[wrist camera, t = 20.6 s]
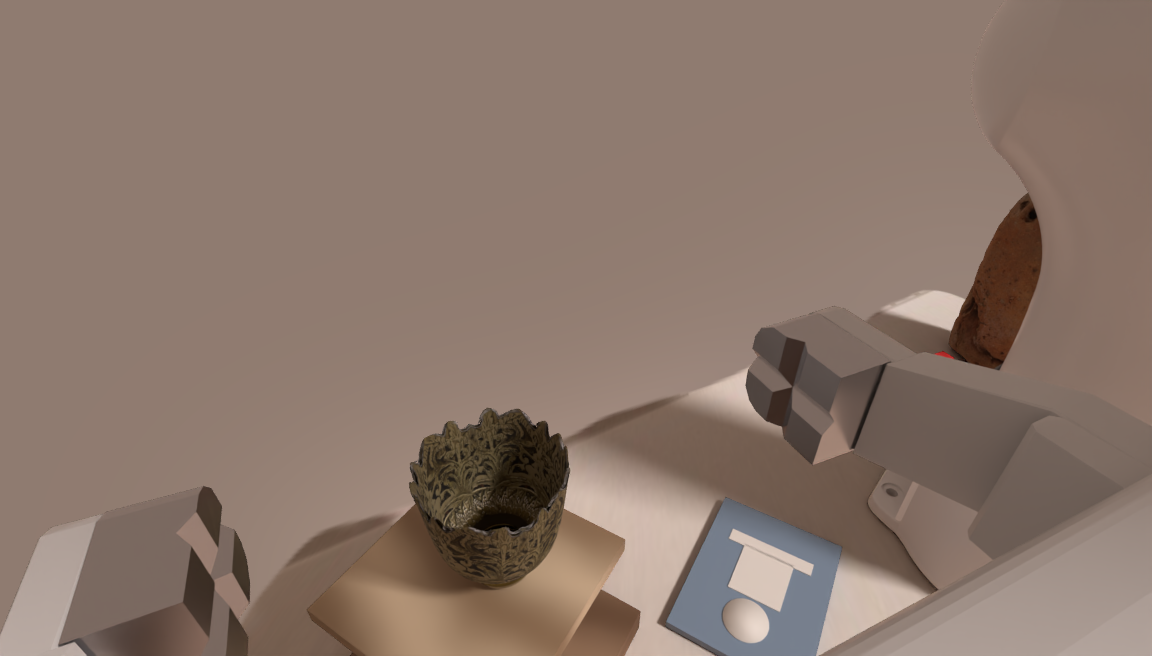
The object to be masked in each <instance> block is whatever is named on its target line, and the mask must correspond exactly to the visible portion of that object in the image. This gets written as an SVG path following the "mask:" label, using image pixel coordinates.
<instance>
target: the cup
mask: <svg viewBox="0 0 1152 656" xmlns="http://www.w3.org/2000/svg"><path fill="white" fill-rule="evenodd" d="M481 416H482V419H481ZM479 419H480V420H479V422H480V421H481V422H480V424H478V425H471V424H468V425H467V427H466V428H464V429H459V428H458V425H457V424H456V423H457V422H456V421H448V422H447V423H446V424H445V426H444V428H443V431H442V434H433V435H430V436H428V437H426V438H424V440H423V441H422V444H421V448H420V452H419V460H418V463H416V462H417V461H415V462H412V463H410V470H411V473H412V477H413V480H414V481H413V482H412V483H411V482H410V483H409V488H410V492H411V495H412V497H413V498H414V501H415V503H416V505H417V507H418V509H419V512H420V514H421V517H422V519H423V521H424V524H425V526H426V528H427V530H428V533H429V535H430V537H431V539H432V541H433V543H434V545H435V547H436V549H437V551H438V552H439V554H440V555H441V557H442V558H443V560H444V561H445V562H446V563H447V564H448V566H449V567H450V568H451V569H453V570H454V571H455V572H456V573H458V574H459V575H461V576H463V577H464V578H466V579H469V580H471V581H474V582H477V583H481V584H483V585H484V586H487V587H489V588H494V589H503V588H508V587H511V586H514V585H516V584H517V583H519V582H520V581H521V580H523V579H524V578H525V577H526V575H527V574H528V573H530V572H531V571H533V570H534V569H535V568H536V567H537V566H539V565H540V564H541V562H542V561H543V560H544V559H545V558H546V556H547V555H548V553H549V552H550V550H551V549H552V547H553V545H554V542H555V540H556V537H557V535H558V531H559V528H560V524H561V519H562V515H563V509H564V503H565V496H566V490H567V483H568V478H569V473H570V468H568V467H569V462H568V450H567V447H566V446H564V444H563V441H562V437H561V435H560V434H559V433H557V434H555V435H553V436H551V437H550V436H549V432H548V424H547V422H546V421H542V422H538V423H537V427H536V426H535V425H534V424H533V423H532V422H531V420H530V419H529V417H528V416H527V415H526V414H525V413H524V412H523V411H521V410H520V409H514V410H510V411H508V412H506V413H504V414H502V415H498V413H497V411H495V410H494V409H491V408H487V409H485V410H484V411H483V412H482V414H481V415H480V418H479ZM479 422H478V423H479Z"/></svg>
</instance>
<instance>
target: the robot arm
mask: <svg viewBox="0 0 1152 656" xmlns="http://www.w3.org/2000/svg"><path fill="white" fill-rule="evenodd" d="M971 94H972V104H973V109H974V113H975V117H976V119H977V122H978V125H979V127H980V129H981V131H982V133H983V134H984V136H985V138H986V139H987V141H988V142H989V144H990V145H991V146H992V147H993V148H994V149H995V150H996V151H997V152H998V153H999V154H1000V155H1001V156H1002V157H1003V158H1004V159H1005V160H1006V161H1007V163H1008V164H1009V165H1010V166H1011V167H1012V169H1013V170H1014V171H1015V172H1016V174H1017V175H1018V176H1019V178H1020V179H1021V181H1022V183H1023V184H1024V186H1025V188H1026V190H1027V191H1028V194H1029V196H1030V198H1031V200H1032V202H1033V205H1034V208H1035V211H1036V213H1037V217H1038V221H1039V225H1040V231H1041V238H1042V264H1041V271H1040V275H1039V280H1038V283H1037V286H1036V289H1035V292H1034V294H1033V297H1032V300H1031V302H1030V305H1029V308H1028V310H1027V313H1026V315H1025V318H1024V320H1023V322H1022V325H1021V327H1020V330H1019V332H1018V334H1017V336H1016V338H1015V340H1014V343H1013V345H1012V347H1011V349H1010V351H1009V353H1008V355H1007V357H1006V359H1005V361H1004V363H1003V364H1001V365H999V366H997V367H996V368H995V369H991V368H987V367H983V366H979V365H975V364H971V363H967V362H963V361H959V360H955V359H951V358H947V357H943V356H939V355H935V354H931V353H927V352H921V353H918V354H917V353H915V352H914V351H912V350H910V349H909V348H907V347H906V346H904V345H902V344H901V343H899V342H897V341H896V340H894V339H893V338H891V337H889V336H888V335H886V334H885V333H883V332H881V331H880V330H878V329H877V328H875V327H873V326H872V325H870V324H869V323H867V322H865V321H864V320H862V319H860V318H859V317H857V316H856V315H854V314H852V313H851V312H849V311H847V310H846V309H844V308H839V307H835V306H832V307H829V308H826V309H822V310H819V311H816V312H813V313H810V314H808V315H804V316H800V317H798V318H794V319H790V320H787V321H783V322H780V323H777V324H773V325H770V326H766V327H763V328H761V329H760V331H759V332H758V333H757V335H756V336H755V340H754V344H753V350H754V352H755V354H756V355H757V358H756V360H755V361H754V362H753V364H752V365H751V366H750V368H749V369H748V373H747V379H746V389H747V393H748V397H749V401H750V402H751V404H752V406H753V407H754V409H755V410H756V412H757V413H758V414H759V415H760V416H761V417H762V418H763V419H764V420H765V421H767V422H770V423H773V424H775V425H778V426H781V427H782V429H783V436H784V439H785V440H786V441H787V442H788V443H789V444H790V445H791V446H793V447H794V448H795V449H796V450H797V451H798V452H799V453H800V454H801V455H802V456H803V457H804V458H805V459H806V460H807V461H808V462H809V463H810V464H812V465H815V464H818V463H820V462H823V461H826V460H829V459H831V458H834V457H837V456H840V455H842V454H845V453H848V452H851V451H853V450H854V452H853V454H856V455H858V456H860V457H862V458H864V459H866V460H868V461H870V462H873V463H875V464H877V465H879V466H881V467H883V468H885V469H886V470H885V472H884V473H883V475H882V477H881V478H880V480H879V482H878V483H877V485H876V487H875V489H874V490H873V492H872V494H871V495H870V497H869V499H868V505H869V507H870V509H871V510H872V512H873V513H874V514H875V515H876V516H877V517H878V518H879V519H880V520H881V521H882V522H883V523H884V524H885V525H887V526H888V527H889V528H890V529H891V530H892V531H893V532H895V533H896V535H897V536H898V537H899V539H900V540H901V541H902V543H903V545H904V546H905V548H906V550H907V551H908V553H909V555H910V556H911V558H912V559H913V561H914V562H915V564H916V565H917V566H918V568H919V569H920V570H921V572H922V573H923V574H924V575H925V576H926V578H927V579H928V580H929V581H930V582H931V583H932V584H933V585H934V586H935V587H936V588H937V589H938V591H936V592H934V593H932V594H930V595H929V596H927V597H925V598H923V599H921V600H919V601H918V602H916V603H914V604H912V605H910V606H908V607H907V608H905V609H903V610H901V611H899V612H898V613H896V614H894V615H892V616H890V617H888V618H887V619H885V620H883V621H881V622H879V623H877V624H876V625H874V626H872V627H870V628H868V629H866V630H865V631H863V632H861V633H859V634H857V635H856V636H854V637H852V638H850V639H848V640H846V641H845V642H843V643H841V644H839V645H837V646H835V647H834V648H832V649H830V650H828V651H826V652H824V653H823V654H821V655H819V656H1152V0H1005V1H1004V2H1003V3H1002V4H1001V6H1000V7H999V9H998V10H997V12H996V14H995V15H994V16H993V18H992V20H991V21H990V23H989V25H988V27H987V29H986V31H985V33H984V35H983V37H982V40H981V42H980V45H979V48H978V51H977V54H976V57H975V60H974V66H973V71H972V81H971ZM888 494H889V495H888ZM890 495H891V496H890ZM221 511H222V506H221V504H220V502H219V500H218V499H217V497H216V495H215V494H214V492H213V490H212V489H211V488H209V487H205V486H203V487H199V488H195V489H191V490H188V491H184V492H180V493H176V494H172V495H168V496H165V497H161V498H157V499H153V500H150V501H146V502H142V503H138V504H134V505H130V506H127V507H123V508H120V509H115V510H111V511H108V512H105V513H104V514H100V515H96V516H92V517H88V518H85V519H81V520H77V521H73V522H70V523H65V524H61V525H58V526H54V527H51V528H50V529H49V530H48V531H47V532H46V533H44V534H43V535H42V536H41V537H40V538H39V540H38V542H37V544H36V547H35V549H34V552H33V554H32V556H31V559H30V561H29V564H28V566H27V569H26V571H25V574H24V576H23V579H22V581H21V583H20V586H19V588H18V591H17V593H16V596H15V598H14V601H13V603H12V606H11V608H10V610H9V613H8V615H7V618H6V620H5V623H4V625H3V628H2V630H1V633H0V656H247V652H248V636H247V634H246V633H245V631H244V629H243V628H242V626H241V624H240V623H239V621H238V619H239V618H240V616H241V615H242V613H243V612H244V610H245V609H246V607H247V606H248V604H249V602H250V579H249V573H248V565H247V559H246V556H245V552H244V550H243V547H242V543H241V541H240V539H239V537H238V535H237V533H236V531H235V530H234V529H231V528H229V527H226V526H223V525H221V524H220V522H221Z"/></svg>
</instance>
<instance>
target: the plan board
mask: <svg viewBox="0 0 1152 656" xmlns="http://www.w3.org/2000/svg"><path fill="white" fill-rule="evenodd" d="M841 551H842V547H841V546H839V545H837V544H834V543H832V542H830V541H827V540H825V539H823V538H820V537H818V536H816V535H813V534H811V533H809V532H806V531H804V530H802V529H799V528H797V527H795V526H792V525H790V524H788V523H785V522H783V521H781V520H778V519H776V518H774V517H771V516H769V515H767V514H764V513H762V512H760V511H757V510H755V509H753V508H750V507H748V506H746V505H743V504H741V503H739V502H736V501H734V500H732V499H729V498H727V497H725V499H724V501H723V504H722V506H721V508H720V510H719V512H718V514H717V516H716V518H715V520H714V522H713V525H712V527H711V529H710V531H709V533H708V535H707V537H706V539H705V541H704V543H703V545H702V548H701V550H700V552H699V554H698V556H697V558H696V560H695V562H694V564H693V566H692V569H691V571H690V573H689V575H688V577H687V579H686V581H685V583H684V585H683V587H682V589H681V592H680V594H679V596H678V598H677V600H676V602H675V604H674V606H673V608H672V610H671V613H670V615H669V617H668V619H667V621H666V627H667V628H669V629H671V630H673V631H675V632H676V633H678V634H680V635H682V636H684V637H685V638H687V639H689V640H691V641H693V642H694V643H696V644H698V645H700V646H702V647H703V648H705V649H707V650H709V651H711V652H712V653H714V654H716V655H718V656H816V653H817V649H818V645H819V641H820V637H821V633H822V629H823V624H824V620H825V616H826V612H827V608H828V604H829V600H830V596H831V592H832V588H833V583H834V579H835V575H836V571H837V567H838V563H839V559H840V555H841Z"/></svg>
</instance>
